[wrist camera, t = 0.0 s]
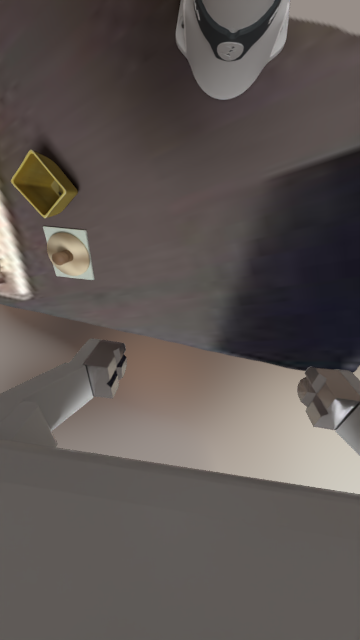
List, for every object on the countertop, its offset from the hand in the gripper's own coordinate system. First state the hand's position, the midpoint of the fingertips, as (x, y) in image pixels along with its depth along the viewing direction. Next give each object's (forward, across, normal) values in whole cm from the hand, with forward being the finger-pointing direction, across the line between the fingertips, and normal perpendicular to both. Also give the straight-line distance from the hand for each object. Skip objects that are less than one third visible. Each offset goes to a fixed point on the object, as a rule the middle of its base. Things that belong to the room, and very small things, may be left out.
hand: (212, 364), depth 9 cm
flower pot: (+48, +36, -7) cm, 61 cm away
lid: (+48, +38, +9) cm, 62 cm away
